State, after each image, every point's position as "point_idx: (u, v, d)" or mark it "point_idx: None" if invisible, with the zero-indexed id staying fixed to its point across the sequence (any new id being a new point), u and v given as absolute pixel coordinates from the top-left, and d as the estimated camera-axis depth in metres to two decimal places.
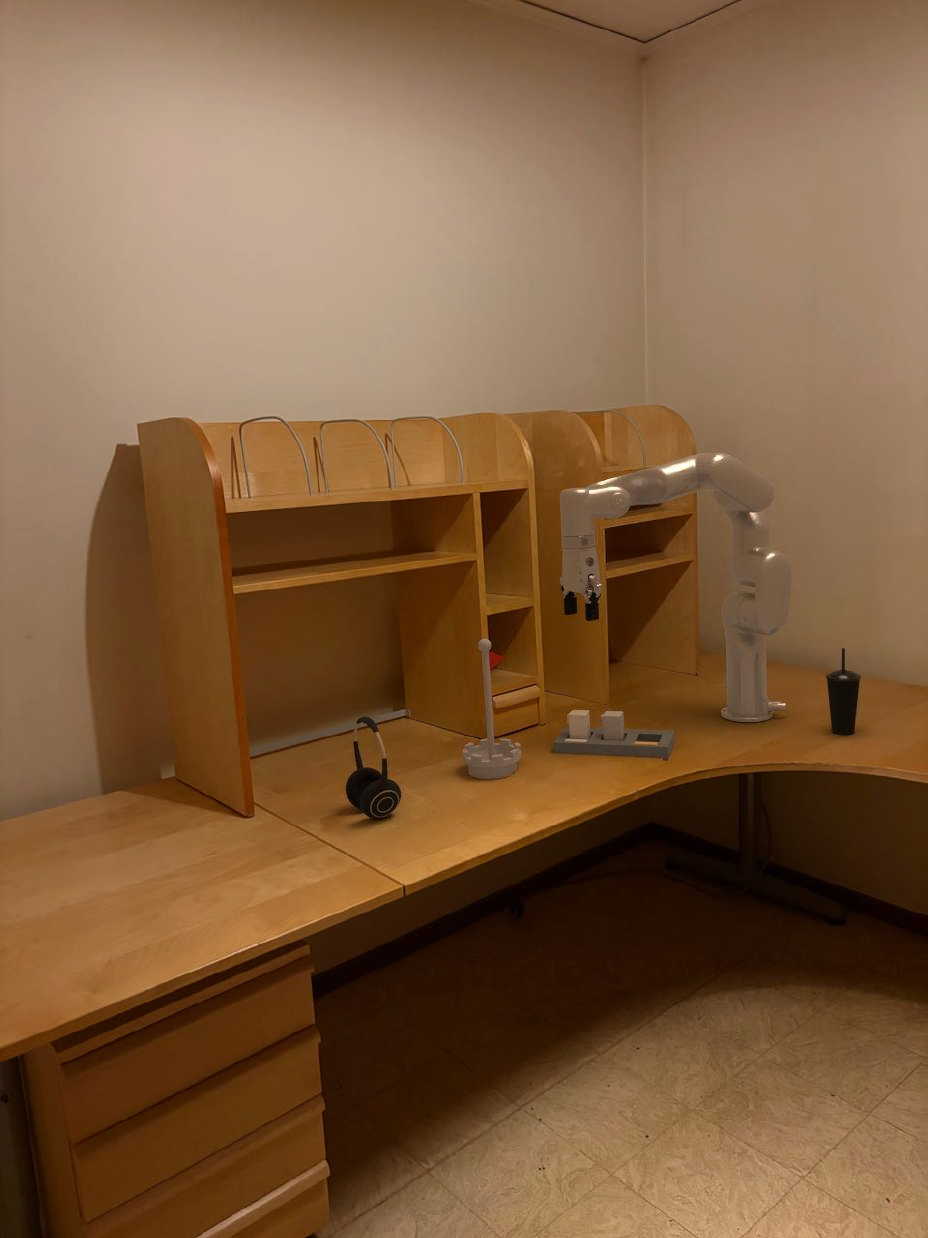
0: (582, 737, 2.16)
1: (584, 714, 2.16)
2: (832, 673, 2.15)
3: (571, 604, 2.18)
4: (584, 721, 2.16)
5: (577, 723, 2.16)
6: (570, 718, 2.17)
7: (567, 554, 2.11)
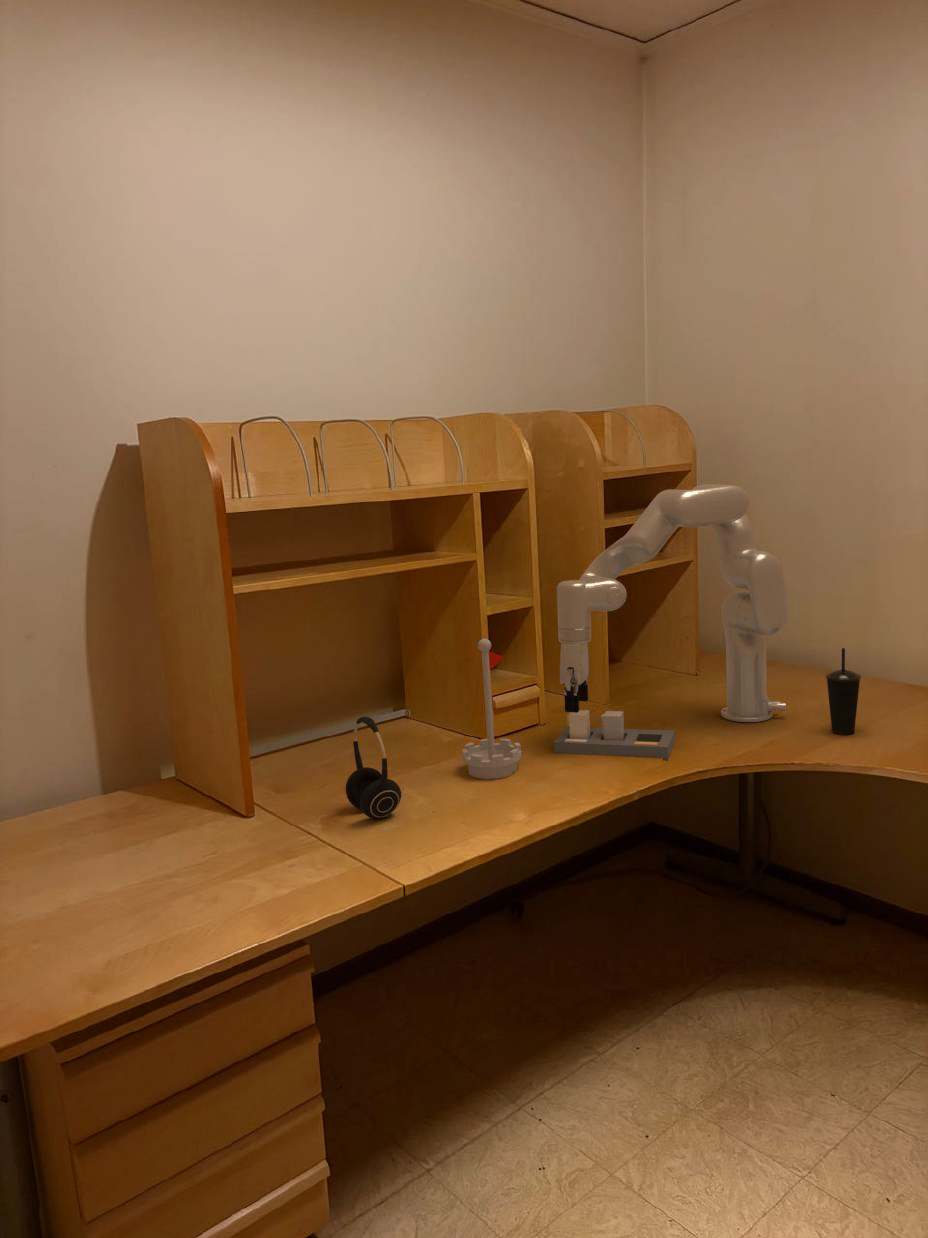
0: (582, 737, 2.16)
1: (584, 714, 2.16)
2: (832, 673, 2.15)
3: None
4: (584, 721, 2.16)
5: (577, 723, 2.16)
6: (570, 718, 2.17)
7: (585, 646, 2.13)
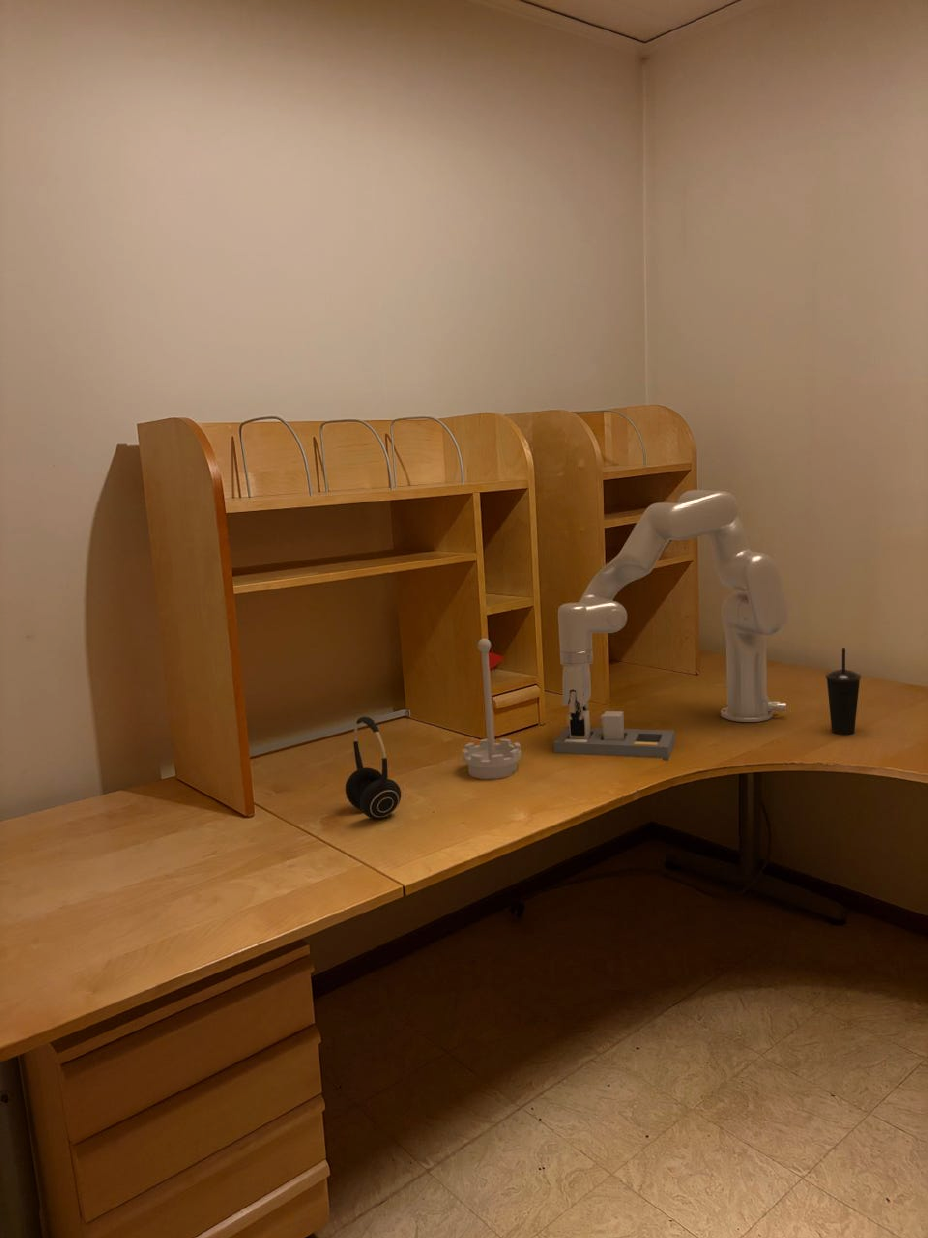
0: (582, 737, 2.16)
1: (584, 714, 2.16)
2: (832, 673, 2.15)
3: None
4: (584, 721, 2.16)
5: None
6: None
7: (586, 668, 2.14)
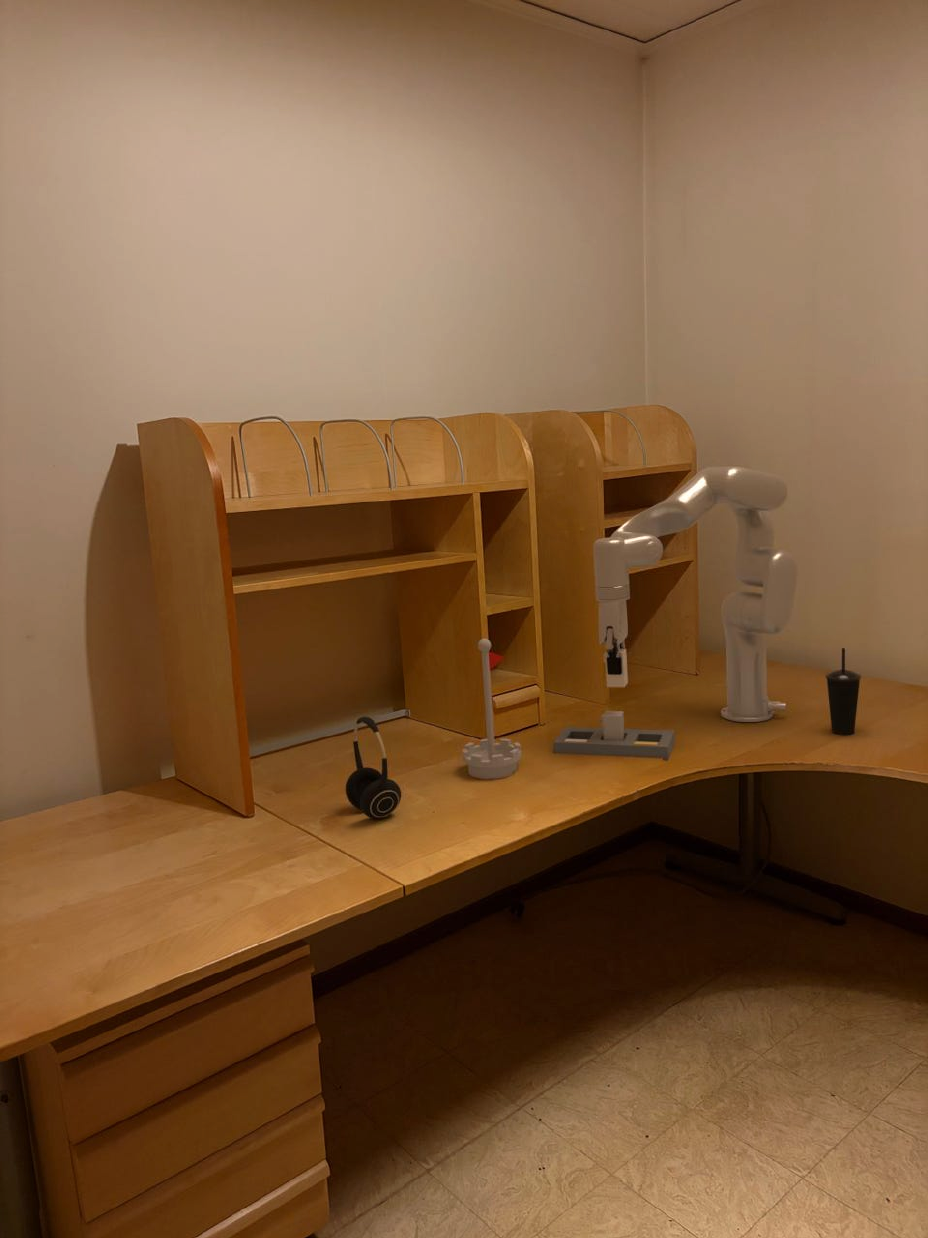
0: (619, 676, 2.11)
1: (621, 652, 2.10)
2: (832, 673, 2.15)
3: None
4: (621, 659, 2.10)
5: None
6: (606, 656, 2.11)
7: (623, 604, 2.09)
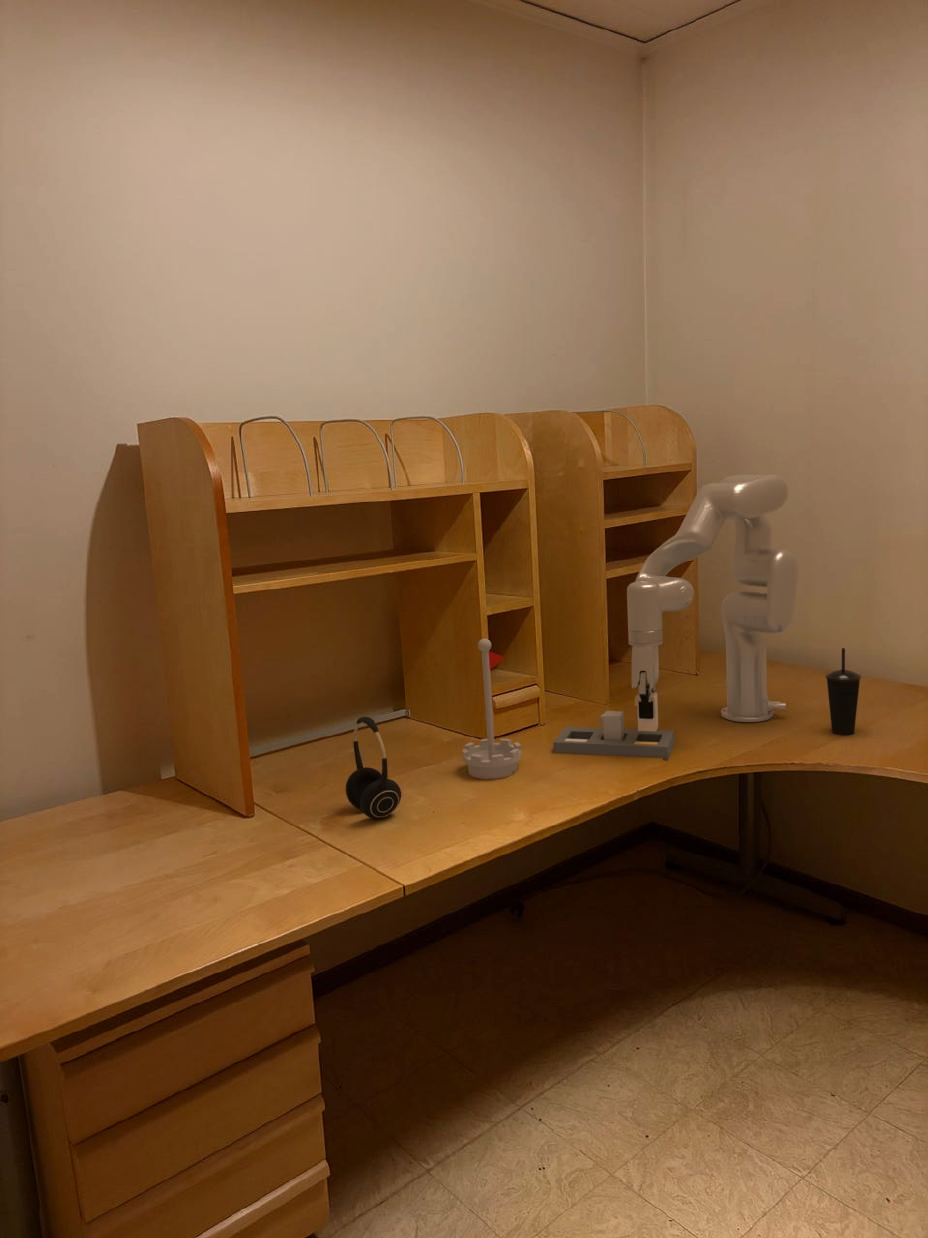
0: (651, 720, 2.10)
1: (653, 696, 2.09)
2: (832, 673, 2.15)
3: None
4: (653, 703, 2.09)
5: None
6: (638, 700, 2.10)
7: (656, 648, 2.08)
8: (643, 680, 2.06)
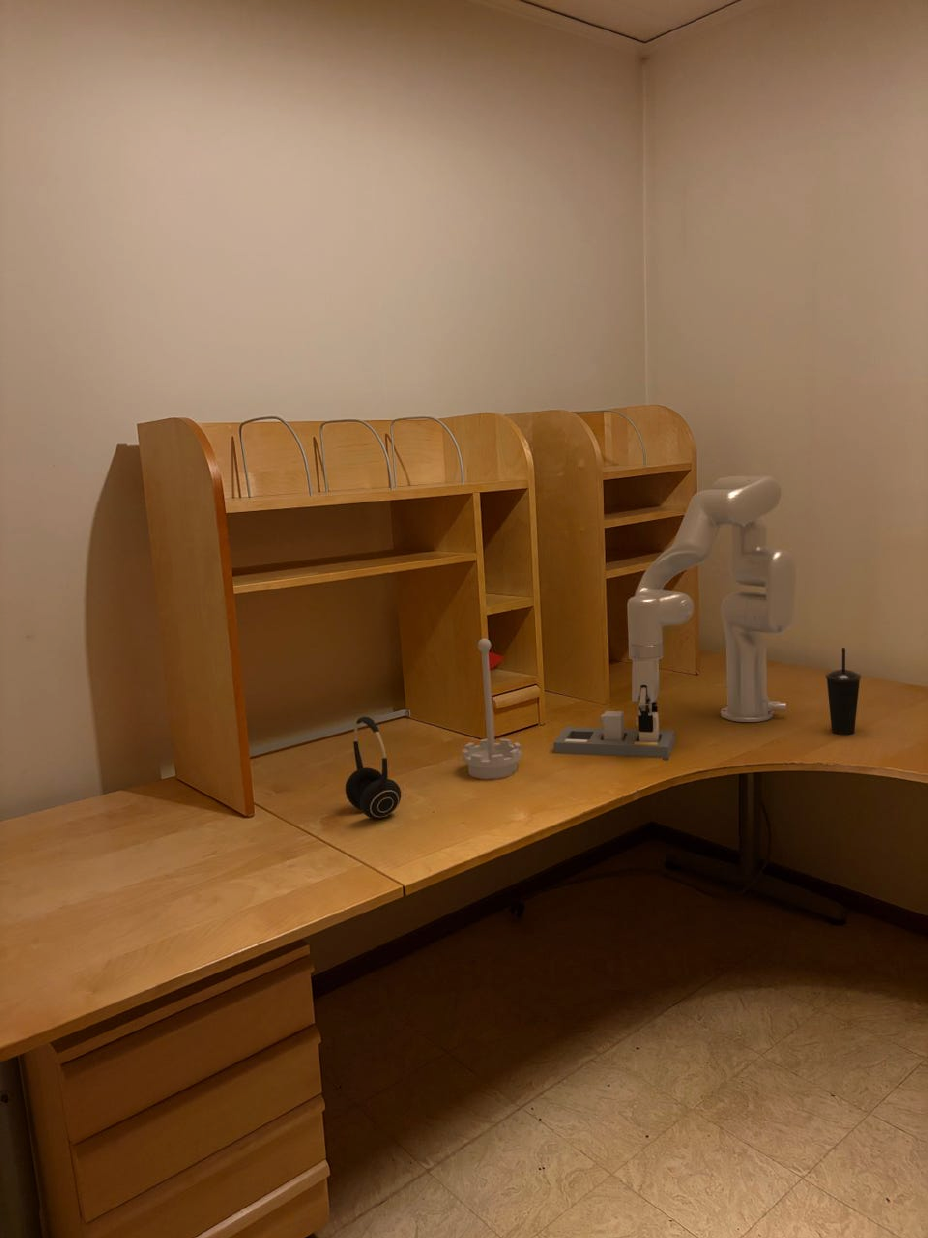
0: (652, 740, 2.11)
1: (655, 716, 2.10)
2: (832, 673, 2.15)
3: None
4: (654, 723, 2.10)
5: None
6: None
7: (657, 662, 2.09)
8: (643, 692, 2.06)
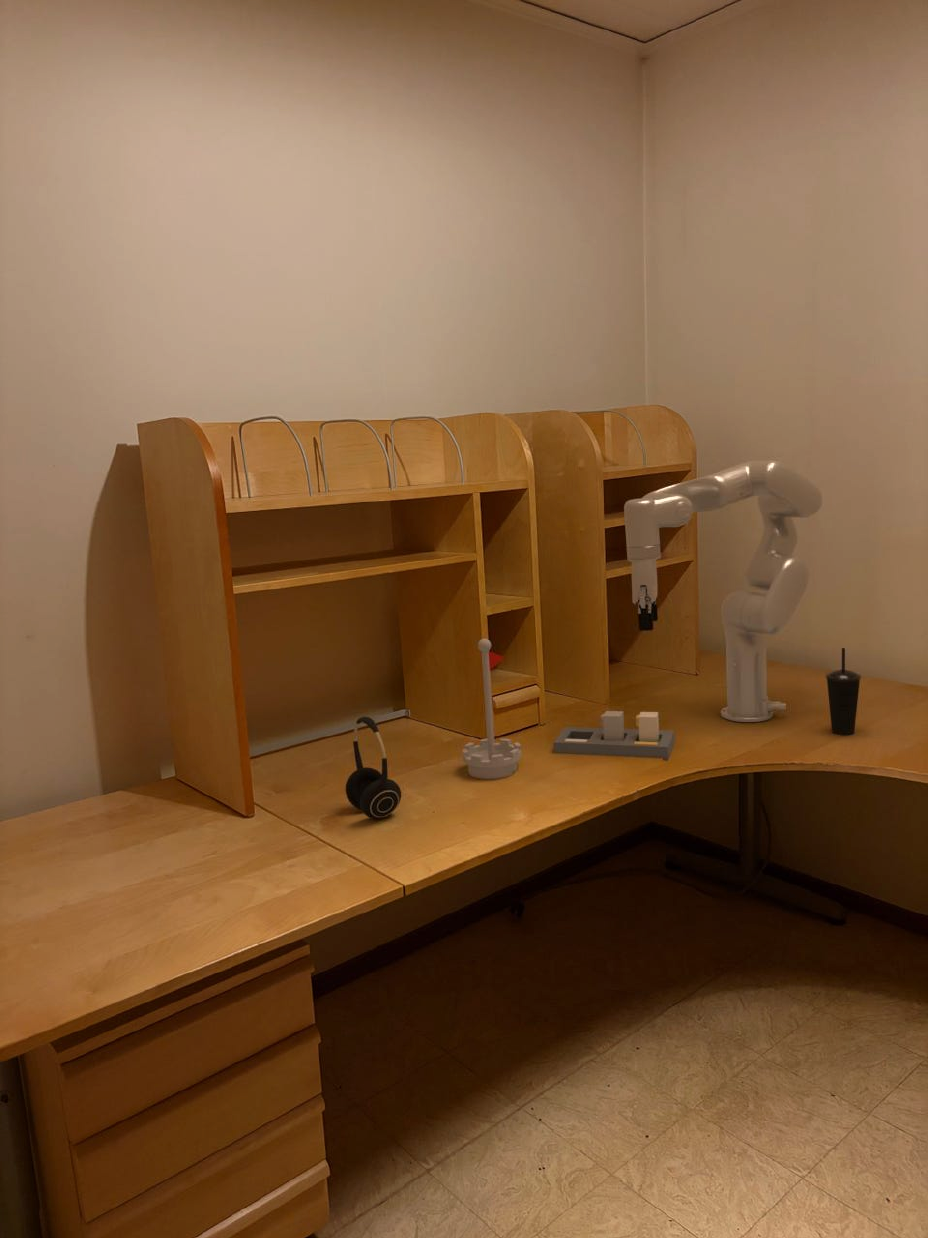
0: (652, 740, 2.11)
1: (655, 716, 2.10)
2: (832, 673, 2.15)
3: None
4: (654, 723, 2.10)
5: (647, 725, 2.11)
6: (640, 720, 2.11)
7: (655, 563, 2.13)
8: (643, 589, 2.10)
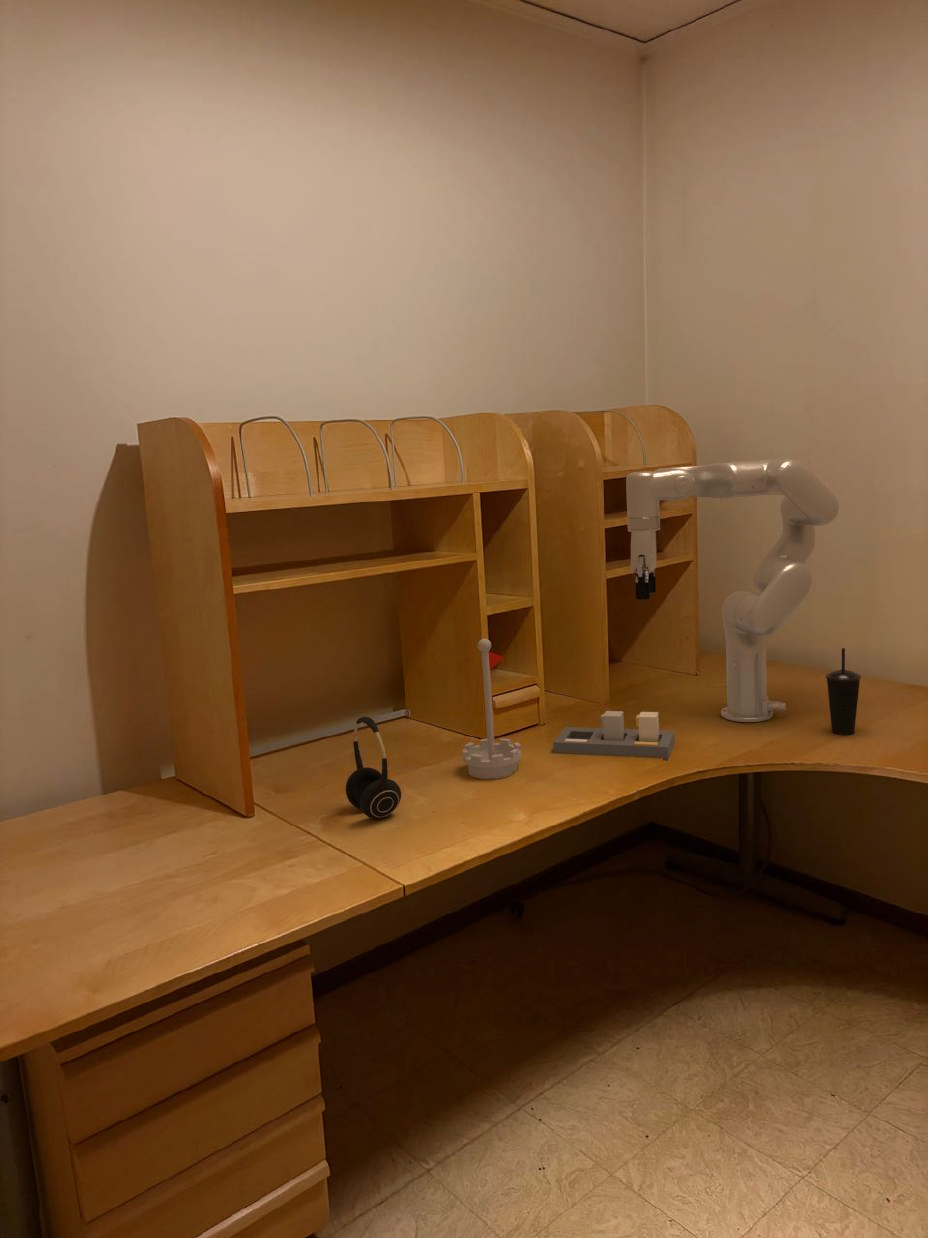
0: (652, 740, 2.11)
1: (655, 716, 2.10)
2: (832, 673, 2.15)
3: None
4: (654, 723, 2.10)
5: (647, 725, 2.11)
6: (640, 720, 2.11)
7: (654, 534, 2.19)
8: (641, 559, 2.16)
